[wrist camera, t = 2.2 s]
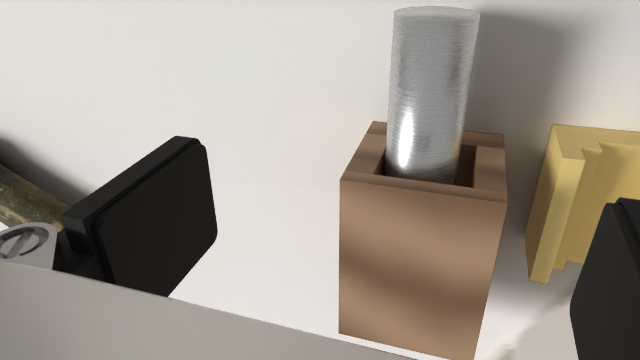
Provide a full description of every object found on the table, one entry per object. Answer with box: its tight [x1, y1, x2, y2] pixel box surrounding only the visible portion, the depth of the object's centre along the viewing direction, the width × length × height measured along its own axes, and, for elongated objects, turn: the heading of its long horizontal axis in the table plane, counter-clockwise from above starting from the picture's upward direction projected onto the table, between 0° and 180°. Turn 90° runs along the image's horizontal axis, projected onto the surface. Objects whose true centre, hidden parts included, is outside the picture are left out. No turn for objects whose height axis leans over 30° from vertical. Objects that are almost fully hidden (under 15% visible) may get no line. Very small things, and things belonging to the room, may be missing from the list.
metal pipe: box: [0, 164, 72, 232], centre depth 41 cm, size 18×7×6 cm, turn 63°
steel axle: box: [384, 6, 481, 186], centre depth 26 cm, size 18×4×4 cm, turn 1°
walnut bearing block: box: [339, 121, 508, 360], centre depth 28 cm, size 11×8×8 cm
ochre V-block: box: [524, 124, 640, 284], centre depth 26 cm, size 8×7×4 cm
